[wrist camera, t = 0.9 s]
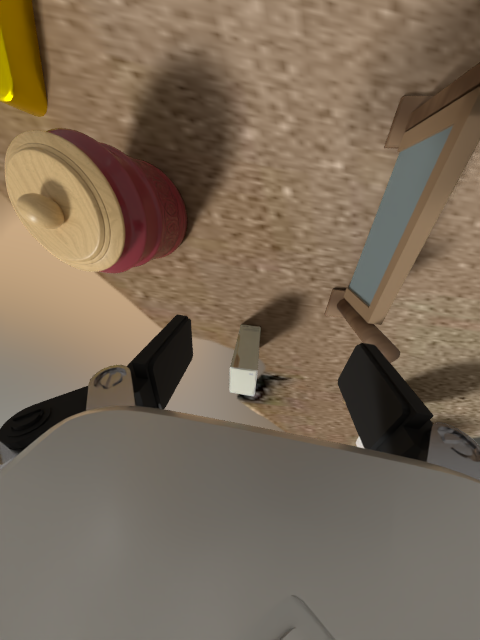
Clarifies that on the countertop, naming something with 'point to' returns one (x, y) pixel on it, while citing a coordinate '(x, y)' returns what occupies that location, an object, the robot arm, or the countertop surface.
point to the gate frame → (406, 118)
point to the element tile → (20, 59)
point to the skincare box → (245, 361)
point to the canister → (92, 201)
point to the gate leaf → (413, 203)
